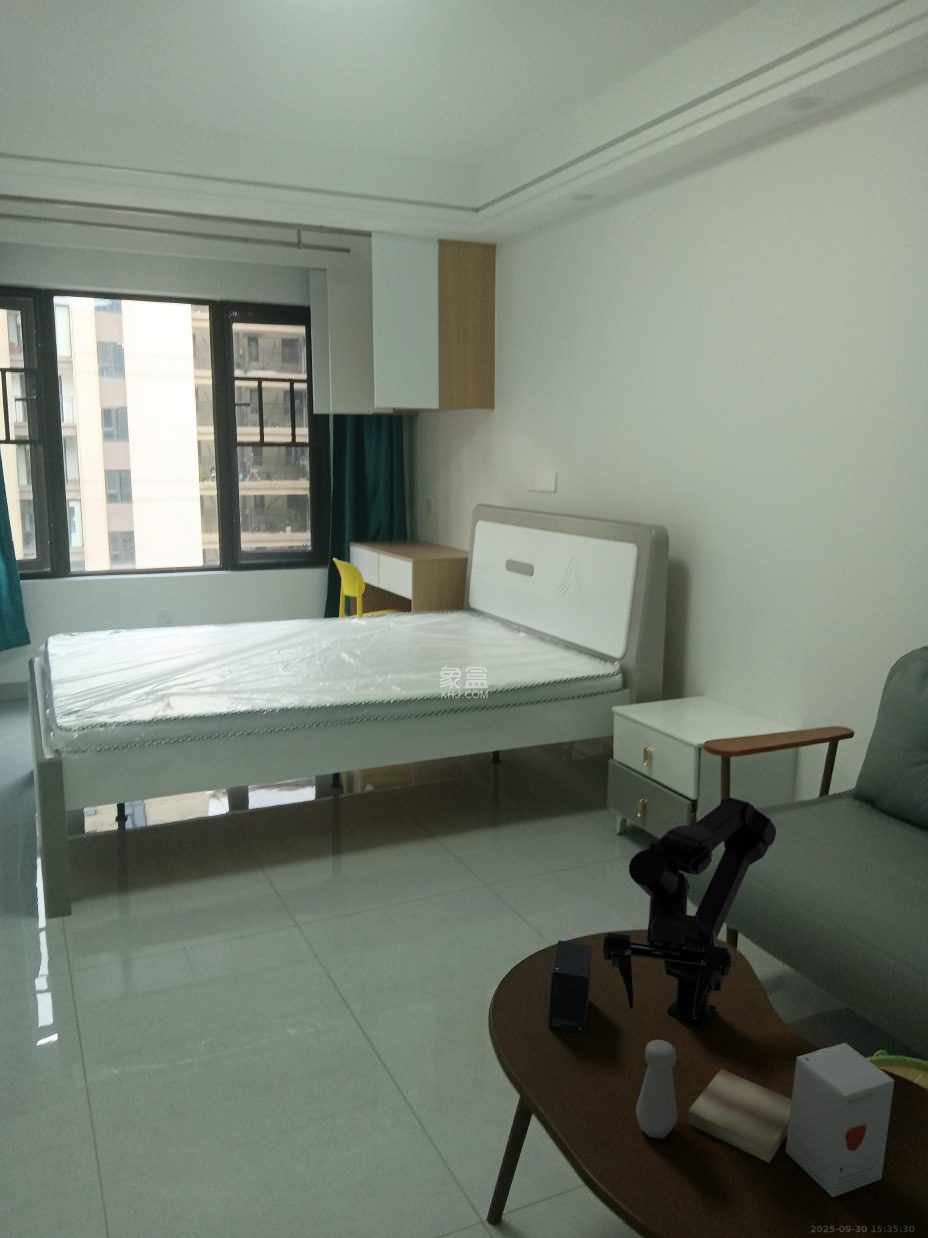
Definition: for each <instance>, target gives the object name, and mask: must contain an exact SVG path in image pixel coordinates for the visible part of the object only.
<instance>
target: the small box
mask: <svg viewBox="0 0 928 1238" xmlns="http://www.w3.org/2000/svg"><path fill="white" fill-rule="evenodd" d="M554 952H555V954H554V958H553V962H552V967H551V974H550V989H549V1004H548V1005H549V1007H548V1018H547V1028H549V1029H550V1028H551V1029H556V1030H563V1031H568V1032H569V1031H570V1032H574V1033H582V1034H583V1033H585V1029H586V1023H587V1017H588V1012H589V1004H590V995H591V986H592V985H591V984H592V968H593V945H590V944H585V943H577V942H571V941H567V940H566V941H565V940H557V944H556V949H555V951H554Z"/></svg>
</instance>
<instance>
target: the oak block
mask: <svg viewBox="0 0 928 1238" xmlns="http://www.w3.org/2000/svg"><path fill="white" fill-rule="evenodd" d="M791 1102H792V1098H789V1097H786V1096H784V1095H782V1094H779V1093H777V1092H774V1091H772V1090H771V1089H768V1088H765V1087H764V1086H762V1085H759V1084H757V1083H755V1082H752V1081H750V1080H747V1079H745V1078H743V1077H741V1076H739V1075H736V1074H734V1073H731V1072H729V1071H727V1070H725V1069H722V1068H720V1070H719V1071H718V1073H717V1074H716V1075H714V1077H713V1079H712V1080H711V1081H710V1082H709V1084H708V1085H707V1086H706V1087H705V1089H704V1090H703V1091H702V1093H700V1095H699V1096H698V1098H697V1099H696V1100H695V1101H694V1103H693V1104H692V1105H691V1106H690V1108H689V1109H688V1110H687V1119H686V1121H687V1122H686V1124H689V1125H690V1126H692V1127H694V1128H696V1129H698V1130H701V1131H703V1132H705V1133H707V1134H708V1135H711V1136H713V1137H715V1138H717V1139H719V1140H721V1141H723V1142H725V1143H727V1144H730V1145H731V1146H733V1147H735V1148H737V1149H740V1150H742V1151H744V1152H746V1153H748V1154H749V1155H752V1156H753V1157H756V1158H759V1159H760V1160H762V1161H765V1162H766V1163H770V1162H771V1160H772V1159H773V1158H774V1157H775V1154H776V1153H777V1151H778V1150H779V1148H780V1146H781V1145H782V1144H783V1141H784V1139H785V1138H786V1137H787V1136H788V1128H789V1119H790V1111H791Z"/></svg>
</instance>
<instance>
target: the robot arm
mask: <svg viewBox="0 0 928 1238" xmlns="http://www.w3.org/2000/svg"><path fill="white" fill-rule="evenodd" d="M776 835H777V829H776V826H775V825H774V823H773V822H772V820H771V818H769V817H768V816H766V815H764V814H763V813H762V812H760V811H759V810H757V808H756V807H755V806H754V805H753V804H751V803H750V802H749V801H746V800H741V799H738V798H734V797H731V796H728V797H727V796H726V797H723V798H722V799H721V802H720V803H719V805H718V806H716V807H715V808H713V809H712V810H711V811H710V812H708V813H707V814H705V815H704V816H703V817H702V818H701V819H699V820H698V821H696V822H695V823H693V824H692V825H691V824H690V825H678V826H676V827H673V828H671V829H668V830H667V832H666V833H664V835H662V837H661V838H659V839H658V840H657V842H655V843H654V842H652V843H650V845H649V848H648V849H643V850H641V851H639V852H637V853H636V854H634V856H633V857H632V858H631V860H630V861H629V865H628V872H629V876H630V877H631V879H632V880H633V882H635V884H636V885H637V886H638V887H639V888H640V889H642V890H643V892H645V894H646V895H648V896H649V898H650V899H649V912H648V925H647V939H646V940H647V941H646V943H647V944H643V943H635V942H631V935H629V934H623V933H622V934H620V933H613V932H607V933H606V934H605V935H604V938H603V948H602V950H603V951H602V952H603V959H604V960H607V961H610V962H611V966H612V967H615V968H618V971H619V973H620V976H621V979H622V981H623V986H624V989H625V994H626V997H627V1002H628V1006H629V1010H633V1007H634V987H633V971H632V969H633V968H632V957H637V958H645V959H653V960H658V961H659V960H660V961H661V960H662V961H663V962H664V970H665V975H666V976H669V977H672V978H674V979H676V987H675V988H676V990H675V1000H674V1001H673V1002H672V1003H671V1005H670V1006H669V1007H667V1009H666V1013H668V1014H670V1015H672V1016H675V1018H676V1017H677V1018H679V1019H681V1020H683V1021H685V1022H686V1021H687V1022H688V1023H691V1024H693V1025H695V1026H699V1027H703V1026H704V1025H705V1024H706V1023H707V1022H708V1020H710V1018H711V1017H712V1016H713V1015H714V1014H715V1013H716V1012H717V1006H715V1005H712V1004H711V1003H710V1002H711V994H712V993H714V992H717V991H719V992H720V991H722V987H723V985H722V984H723V983H724V980H725V976H726V977H727V976H728V975H729V972H730V970H731V966H732V965H731V964H732V963H731V962H732V955H731V952H730V950H729V949H728V947H720V946H719V941H718V936H719V934H720V932H721V929H722V928H723V925H724V923H725V921H726V919H727V916H728V914H729V912H730V910H731V908H732V905H733V904H734V903H733V902H734V900H735V899H736V896H737V894H738V892H739V890H740V887H741V885H742V884H743V881H744V878H745V876H746V874H747V872H748V869H749V867H750V865H753V864H754V863H756V862H758V861H759V860H760V859H763V858H764V857H765V856H766V854H767V851H768V850H769V847H771V846H772V845H773V844H774V842H775V839H776V837H777V836H776ZM722 843H723V844H724V851H723V853H722V855H721V858H720V859H719V862H718V865H717V866H716V868H715V871H714V873H713V876H712V877H711V880H710V881H709V884H708V886H707V888H706V890H705V892H704V895H703V896H702V899H701V901H700V904H699V905H698V908H697V910H696V912H695V914H694V915H691V914H688V893H689V892H688V891H689V890H690V884H689V880H688V879H687V877H686V876H685V875H684V873H686V874H689V875H692V876H694V875H700V874H702V873H703V872H704V871H705V870H706V869H707V868H708V867H709V865H710V864H711V863H712V862H713V861H712V860H713V851H714V850H715V849H716V848H717V847H718V846H720V845H721V844H722ZM680 871H681V872H680Z"/></svg>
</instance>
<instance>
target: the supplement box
mask: <svg viewBox="0 0 928 1238" xmlns="http://www.w3.org/2000/svg"><path fill="white" fill-rule="evenodd" d="M894 1085H895V1079H893V1078H892V1077H891V1076H890V1075H888V1074H887V1073H885V1072H884V1071H883V1070H882V1069H880V1068H878V1067H877V1066H876V1065H875V1064H873V1063H872V1062H871V1061H869V1060H868V1059H867V1058H866V1057H864V1056H863V1055H862V1054H860V1053H859V1052H858V1051H857V1050H855V1049H854V1047H851V1046H850V1045H849V1044H847V1043H846V1042H844V1043H840V1044H837V1045H834V1046H830V1047H825V1048H820V1049H817V1050H815V1051H813V1052H810V1053H806V1054H802V1055H800V1056H796V1062H795V1070H794V1080H793V1087H792V1095H791V1100H792V1102H791V1111H790V1119H789V1128H788V1134H787V1135H786V1137H787V1138H786V1144H785V1145H786V1146H785V1153H786V1154H787V1155H788V1156H789V1157H790V1158H791V1159H792V1160H793V1161H794V1162H796V1164H798V1165H799V1167H801V1168H802V1169H803V1170H804V1171H805V1172H806V1174H808V1176H810V1177H811V1178H812V1179H813V1180H814V1181H815V1182H816V1183H817V1184H818V1185H819V1186H820V1187H821V1188H822V1189H824V1190H825V1192H826V1193H828V1195H829V1196H831V1197H832V1198H835V1197H838V1196H840V1195H844V1194H845V1193H849V1192H851V1191H854V1190H856V1189H859V1188H862V1187H864V1186H866V1185H870V1184H871V1183H874V1182H878V1181H880V1180H882V1178H883V1169H884V1160H885V1154H886V1146H887V1145H886V1144H887V1140H888V1139H887V1137H888V1132H889V1131H888V1129H889V1123H890V1116H891V1109H892V1100H893V1093H894Z"/></svg>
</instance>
